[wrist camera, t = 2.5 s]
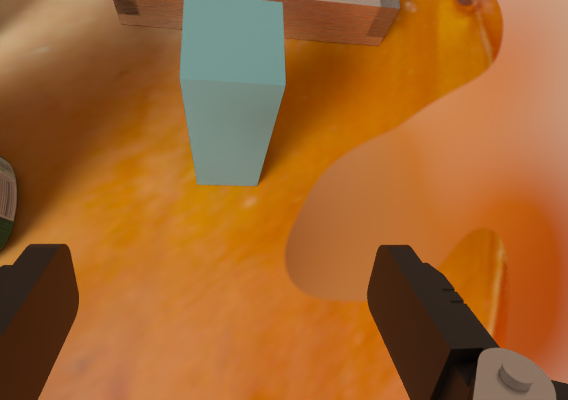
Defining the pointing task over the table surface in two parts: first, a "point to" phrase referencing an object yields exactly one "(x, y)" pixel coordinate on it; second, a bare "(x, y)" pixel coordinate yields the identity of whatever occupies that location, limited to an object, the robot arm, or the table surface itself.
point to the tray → (287, 18)
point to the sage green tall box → (231, 85)
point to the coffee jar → (7, 200)
